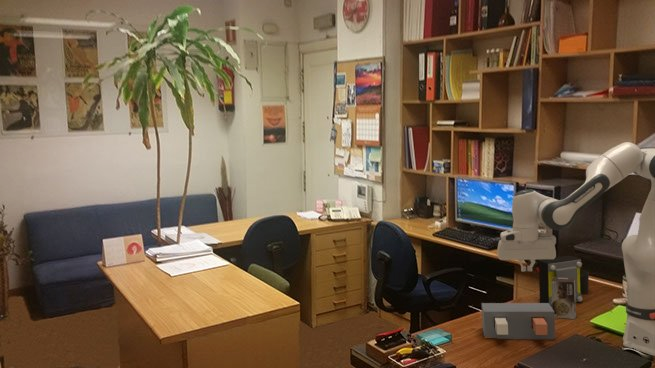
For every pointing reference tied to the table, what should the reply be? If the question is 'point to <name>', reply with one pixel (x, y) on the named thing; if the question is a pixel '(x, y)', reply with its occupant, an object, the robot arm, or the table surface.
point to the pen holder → (584, 282)
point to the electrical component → (558, 275)
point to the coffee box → (563, 297)
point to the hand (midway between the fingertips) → (526, 271)
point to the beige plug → (501, 325)
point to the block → (517, 319)
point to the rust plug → (539, 325)
